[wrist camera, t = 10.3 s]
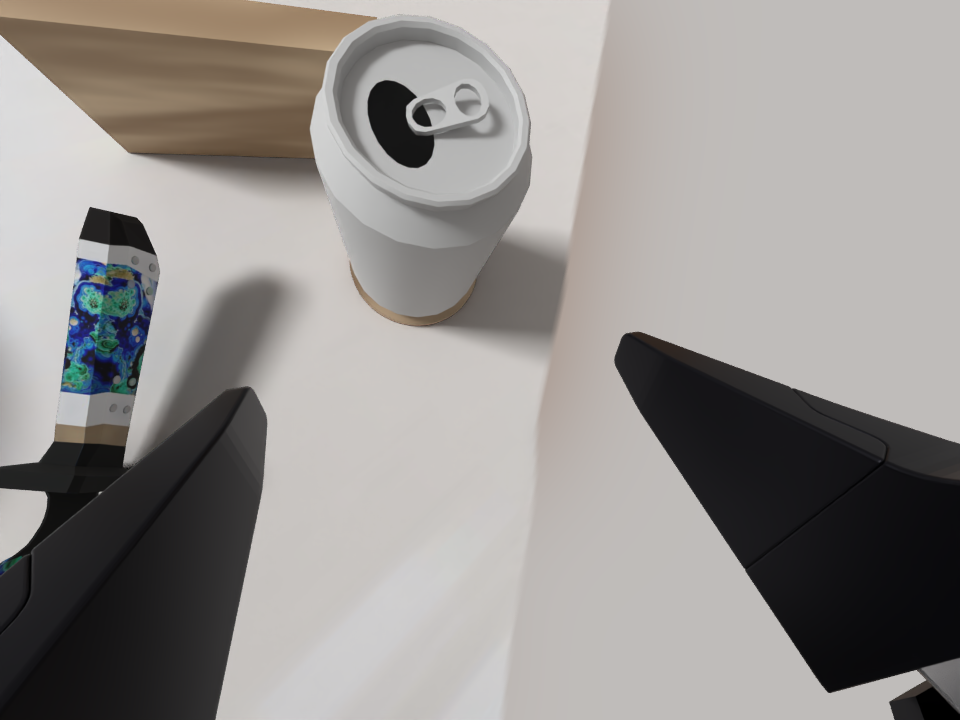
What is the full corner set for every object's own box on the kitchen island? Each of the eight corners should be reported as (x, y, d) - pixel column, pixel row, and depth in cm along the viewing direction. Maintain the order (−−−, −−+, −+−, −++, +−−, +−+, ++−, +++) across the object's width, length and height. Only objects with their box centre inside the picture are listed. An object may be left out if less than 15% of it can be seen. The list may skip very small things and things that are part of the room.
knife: (154, 234, 18) (68, 191, 13) (218, 251, 18) (156, 215, 14) (-34, 857, 16) (-206, 1047, 11) (44, 854, 16) (-91, 1034, 12)
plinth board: (386, 160, 22) (381, 56, 16) (128, 152, 19) (-22, 14, 12) (383, 132, 23) (376, 17, 16) (126, 119, 19) (-23, -36, 12)
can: (335, 221, 21) (254, -10, 9) (449, 196, 23) (503, -21, 11) (377, 336, 20) (349, 251, 9) (489, 300, 22) (586, 192, 11)
